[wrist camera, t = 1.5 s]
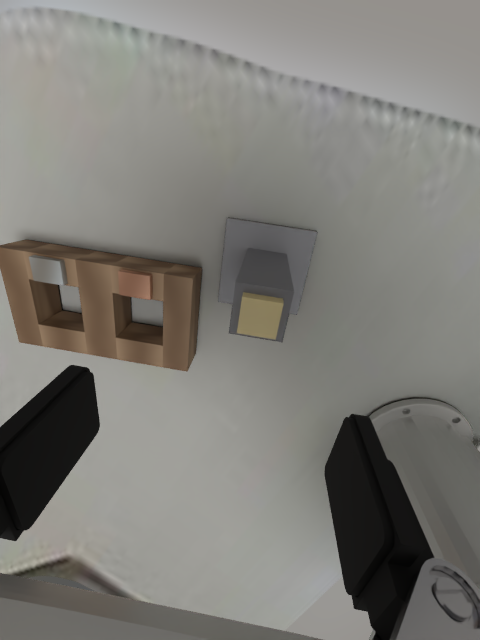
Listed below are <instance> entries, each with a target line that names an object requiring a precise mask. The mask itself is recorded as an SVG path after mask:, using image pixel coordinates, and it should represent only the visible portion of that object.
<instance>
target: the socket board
mask: <svg viewBox="0 0 480 640" xmlns="http://www.w3.org/2000/svg"><path fill="white" fill-rule="evenodd" d="M0 269H1V273H2V277H3V281H4V285H5V288H6V292H7V296H8V300H9V304H10V308H11V312H12V316H13V320H14V324H15V327H16V331H17V335H18V339H19V342H21V343H27V344H33V345H38V346H44V347H50V348H56V349H61V350H67V351H73V352H78V353H84V354H90V355H96V356H101V357H107V358H113V359H119V360H124V361H130V362H136V363H142V364H147V365H153V366H159V367H164V368H170V369H176V370H182V371H188V369H189V367H190V365H191V362H192V360H193V358H194V356H195V354H196V343H197V329H198V316H199V302H200V289H201V275H202V268H199V267H193V266H187V265H180V264H174V263H168V262H162V261H156V260H149V259H143V258H137V257H131V256H124V255H118V254H112V253H106V252H100V251H93V250H87V249H81V248H75V247H68V246H62V245H56V244H50V243H44V242H37V241H31V240H22V241H17V242H13V243H8V244H4V245H0ZM58 285H63V286H64V285H68V286H74V287H79V294H80V301H81V309H82V314H80V313H74V312H68V311H62V308H61V302H60V296H59V290H58ZM131 297H135V298H141V299H147V300H151V299H152V300H158V301H163V327H157V326H151V325H145V324H139V323H133V322H132V319H131Z"/></svg>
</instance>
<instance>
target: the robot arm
mask: <svg viewBox="0 0 480 640" xmlns="http://www.w3.org/2000/svg"><path fill="white" fill-rule="evenodd" d="M99 427H100V422H99V414H98V407H97V399H96V391H95V383H94V376H93V373H91V372H90V370H89V369H88V368H87V367H81V366H75V365H70V366H69V367H67V368H66V369H65V370H64V371H63V372H62V373H61V374H59V375H58V376H57V377H56V378H55V379H54V380H53V381H52V382H50V383H49V384H48V385H47V386H46V387H45V388H44V389H43V390H41V391H40V392H39V393H38V394H37V395H36V396H35V397H34V398H32V399H31V400H30V401H29V402H28V403H27V404H26V405H25V406H23V407H22V408H21V409H20V410H19V411H18V412H17V413H16V414H14V415H13V416H12V417H11V418H10V419H9V420H8V421H7V422H5V423H4V424H3V425H2V426H1V427H0V538H3V539H8V540H13V541H16V540H17V539H18V538H19V536H20V535H21V533H22V532H23V531H24V530H27V529H29V528H30V527H31V526H32V525H33V524H34V522H35V521H36V519H37V518H38V517H39V515H40V514H41V512H42V511H43V510H44V508H45V507H46V505H47V504H48V502H49V501H50V500H51V498H52V497H53V495H54V494H55V493H56V491H57V490H58V488H59V487H60V485H61V484H62V483H63V481H64V480H65V478H66V477H67V476H68V474H69V473H70V471H71V470H72V468H73V467H74V466H75V464H76V463H77V461H78V460H79V459H80V457H81V456H82V454H83V453H84V452H85V450H86V449H87V447H88V446H89V444H90V443H91V442H92V440H93V439H94V437H95V436H96V434H97V433H98V430H99ZM472 442H473V430H472V428H471V426H470V423H469V422H468V421H467V420H466V418H465V417H464V416H463V415H462V414H461V413H460V412H459V411H458V410H457V409H456V408H454V407H452V406H450V405H449V404H446V403H443V402H440V401H436V400H431V399H409V400H402V401H398V402H394V403H391V404H389V405H386V406H384V407H382V408H380V409H379V410H377V411H375V412H374V413H372V414H371V415H370V416H369V417H367V416H361V415H356V414H351V415H350V417H346V418H345V419H344V421H343V423H342V426H341V428H340V431H339V433H338V436H337V438H336V441H335V443H334V446H333V448H332V451H331V453H330V456H329V458H328V461H327V463H326V466H325V480H326V485H327V491H328V496H329V502H330V508H331V513H332V519H333V524H334V530H335V535H336V541H337V547H338V552H339V558H340V563H341V569H342V574H343V580H344V585H345V589H346V592H347V593H348V594H349V595H352V599H353V605H354V609H358V610H362V611H367V612H368V615H369V619H370V623H371V626H372V628H373V631H372V633H371V635H370V638H369V640H480V452H479V451H478V450H477V448H476V447H475V446H474V444H473V443H472ZM0 640H321V639H318V638H313V637H309V636H304V635H300V634H296V633H291V632H287V631H282V630H277V629H272V628H268V627H263V626H258V625H253V624H249V623H244V622H239V621H234V620H230V619H225V618H220V617H215V616H211V615H206V614H201V613H196V612H191V611H187V610H182V609H177V608H172V607H167V606H162V605H157V604H152V603H148V602H143V601H138V600H133V599H128V598H123V597H118V596H113V595H108V594H103V593H99V592H94V591H89V590H83V589H78V588H73V587H68V586H63V585H58V584H53V583H48V582H43V581H38V580H32V579H28V578H23V577H18V576H13V575H7V574H2V573H0Z"/></svg>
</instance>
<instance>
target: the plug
mask: <svg viewBox="0 0 480 640" xmlns="http://www.w3.org/2000/svg"><path fill="white" fill-rule="evenodd" d="M293 295H294V288H293V283H292V278H291V273H290V268H289V263H288V258H287V254H284V253H278V252H272V251H265V250H259V249H253V248H248V250H247V253H246V256H245V258H244V261H243V264H242V266H241V269H240V271H239V274H238V277H237V279H236V282H235V290H234V297H233V305H232V312H231V320H230V327H229V333H230V334H236V335H242V336H248V337H254V338H260V339H266V340H272V341H278V342H283V338H284V333H285V329H286V325H287V320H288V316H289V312H290V308H291V303H292V299H293Z"/></svg>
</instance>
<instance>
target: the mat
mask: <svg viewBox="0 0 480 640" xmlns="http://www.w3.org/2000/svg"><path fill="white" fill-rule="evenodd" d="M317 233H318V232H317V231H312V230H306V229H299V228H293V227H286V226H280V225H273V224H267V223H260V222H254V221H247V220H241V219H234V218H227V222H226V232H225V241H224V251H223V260H222V269H221V279H220V288H219V298H218V302H223V303H230V304H233V297H234V290H235V282H236V279H237V277H238V274H239V271H240V269H241V266H242V264H243V261H244V258H245V256H246V253H247V250H248V248H253V249H259V250H265V251H272V252H278V253H284V254H287V258H288V263H289V268H290V273H291V278H292V283H293V288H294V295H293V299H292V303H291V308H290V312H289V313H290V314H296V315H297V313H298V309H299V305H300V301H301V297H302V293H303V289H304V285H305V281H306V277H307V273H308V269H309V265H310V261H311V257H312V253H313V249H314V245H315V241H316V237H317Z"/></svg>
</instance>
